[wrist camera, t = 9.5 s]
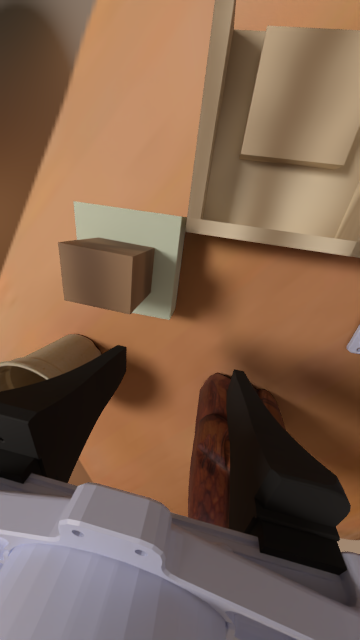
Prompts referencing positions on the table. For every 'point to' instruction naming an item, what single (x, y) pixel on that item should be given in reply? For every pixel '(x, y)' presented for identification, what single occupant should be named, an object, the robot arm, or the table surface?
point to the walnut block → (106, 273)
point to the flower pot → (47, 362)
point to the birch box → (279, 137)
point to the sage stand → (147, 232)
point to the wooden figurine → (215, 452)
